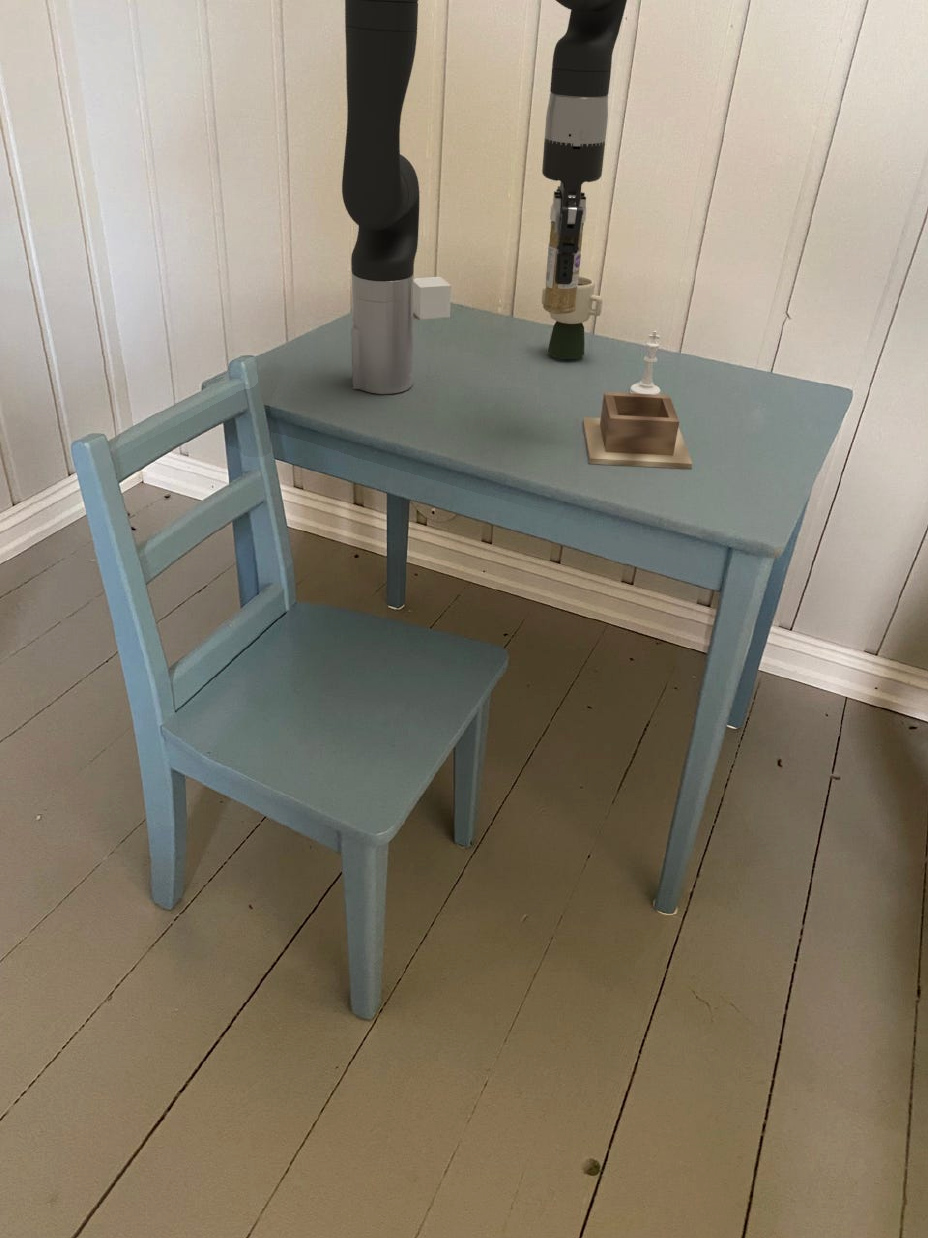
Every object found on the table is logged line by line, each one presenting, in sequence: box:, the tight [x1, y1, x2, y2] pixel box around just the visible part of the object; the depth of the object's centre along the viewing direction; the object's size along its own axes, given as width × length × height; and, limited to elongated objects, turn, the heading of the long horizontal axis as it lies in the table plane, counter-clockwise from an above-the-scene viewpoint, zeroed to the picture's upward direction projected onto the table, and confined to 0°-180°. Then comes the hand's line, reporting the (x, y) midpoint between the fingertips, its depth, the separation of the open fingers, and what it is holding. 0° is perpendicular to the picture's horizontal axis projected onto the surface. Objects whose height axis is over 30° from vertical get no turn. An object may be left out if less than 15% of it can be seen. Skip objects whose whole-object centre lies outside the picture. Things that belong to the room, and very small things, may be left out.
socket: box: [582, 391, 693, 470], centre depth 131 cm, size 14×14×6 cm
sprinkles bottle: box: [542, 203, 587, 314], centre depth 123 cm, size 5×5×14 cm
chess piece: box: [629, 330, 662, 395], centre depth 147 cm, size 5×5×10 cm
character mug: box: [541, 274, 603, 360], centre depth 158 cm, size 11×7×13 cm, turn 61°
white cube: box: [413, 276, 452, 320], centre depth 176 cm, size 6×6×6 cm
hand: (562, 277), depth 124 cm, fingers closed on sprinkles bottle, 4 cm apart
